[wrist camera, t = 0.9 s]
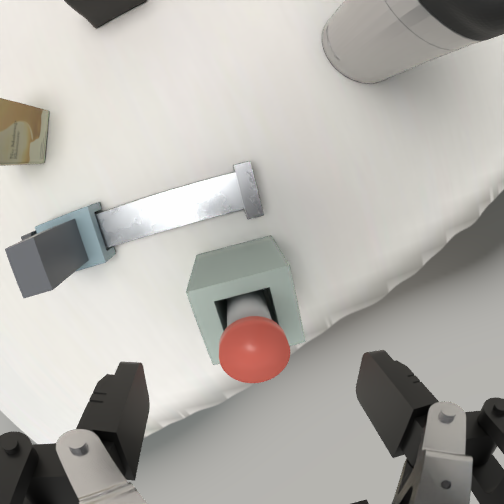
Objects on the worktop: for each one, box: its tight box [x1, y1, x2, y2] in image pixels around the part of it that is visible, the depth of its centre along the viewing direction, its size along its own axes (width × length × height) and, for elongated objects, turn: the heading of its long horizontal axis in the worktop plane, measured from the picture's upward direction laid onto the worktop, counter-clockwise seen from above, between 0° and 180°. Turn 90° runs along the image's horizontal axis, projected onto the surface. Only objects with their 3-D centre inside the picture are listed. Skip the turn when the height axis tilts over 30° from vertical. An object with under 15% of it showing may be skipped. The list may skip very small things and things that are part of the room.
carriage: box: [5, 202, 116, 298], centre depth 26 cm, size 7×6×11 cm
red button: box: [219, 289, 290, 383], centre depth 25 cm, size 5×5×10 cm
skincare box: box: [0, 98, 49, 166], centre depth 22 cm, size 6×4×12 cm
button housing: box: [186, 236, 305, 365], centre depth 30 cm, size 8×7×10 cm
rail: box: [21, 161, 264, 248], centre depth 30 cm, size 25×5×4 cm, turn 104°
